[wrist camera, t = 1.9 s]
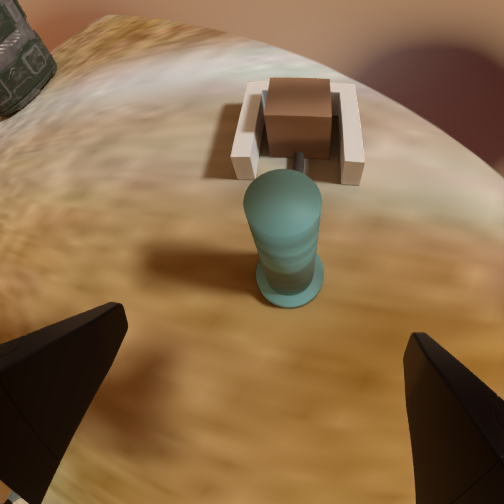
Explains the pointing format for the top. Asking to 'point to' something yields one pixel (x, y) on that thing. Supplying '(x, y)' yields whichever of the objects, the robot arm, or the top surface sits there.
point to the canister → (20, 59)
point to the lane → (253, 124)
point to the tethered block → (290, 192)
